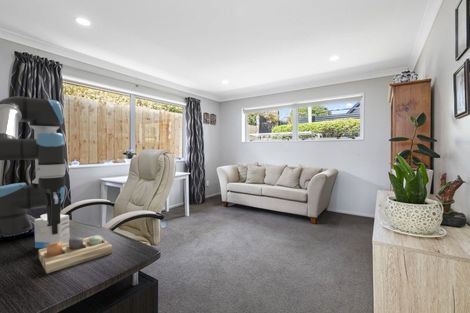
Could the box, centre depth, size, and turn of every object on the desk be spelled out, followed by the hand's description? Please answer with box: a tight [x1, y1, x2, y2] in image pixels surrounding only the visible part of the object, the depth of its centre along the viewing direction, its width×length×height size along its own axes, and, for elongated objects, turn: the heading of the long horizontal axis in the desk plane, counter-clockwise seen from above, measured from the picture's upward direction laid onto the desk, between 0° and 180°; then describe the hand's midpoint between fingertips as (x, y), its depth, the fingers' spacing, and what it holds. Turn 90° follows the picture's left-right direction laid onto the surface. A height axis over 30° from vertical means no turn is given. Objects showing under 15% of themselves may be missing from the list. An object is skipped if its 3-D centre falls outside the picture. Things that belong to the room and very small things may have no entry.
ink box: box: [33, 212, 71, 249], centre depth 98 cm, size 9×8×13 cm
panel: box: [38, 234, 113, 274], centre depth 88 cm, size 16×20×3 cm
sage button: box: [89, 235, 103, 247], centre depth 93 cm, size 4×4×3 cm
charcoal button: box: [69, 236, 84, 250], centre depth 88 cm, size 4×4×3 cm
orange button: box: [47, 242, 62, 256], centre depth 83 cm, size 4×4×3 cm
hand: (54, 242), depth 83 cm, fingers closed
